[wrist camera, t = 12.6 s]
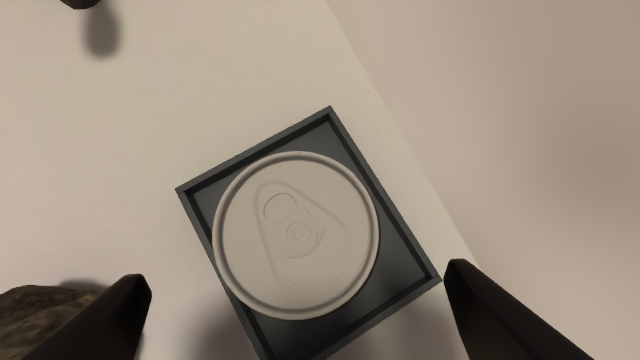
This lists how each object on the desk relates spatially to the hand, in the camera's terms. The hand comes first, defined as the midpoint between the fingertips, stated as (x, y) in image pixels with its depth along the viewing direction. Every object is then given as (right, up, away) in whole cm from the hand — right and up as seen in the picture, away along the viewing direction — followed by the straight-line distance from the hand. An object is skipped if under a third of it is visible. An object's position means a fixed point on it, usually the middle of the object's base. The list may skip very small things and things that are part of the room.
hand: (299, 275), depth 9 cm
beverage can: (-1, -1, +13) cm, 13 cm away
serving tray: (0, -1, +14) cm, 14 cm away
